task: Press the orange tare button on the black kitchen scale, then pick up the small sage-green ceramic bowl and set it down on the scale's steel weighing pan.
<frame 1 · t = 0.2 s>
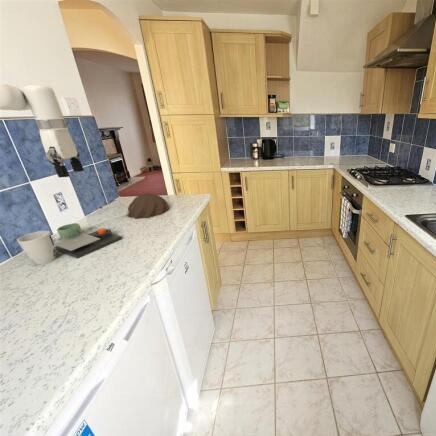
hand: (72, 174, 91), 28 cm above the countertop, tool pointing down, fingers open, 9 cm apart
cup: (46, 260, 88), on the countertop
scale: (90, 244, 98), on the countertop
tare button: (102, 231, 101), point 3 cm above the countertop, slide at 0.1 cm
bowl: (73, 238, 103), on the countertop
pan: (77, 241, 94), on the scale, point 3 cm above the countertop
decorative dome: (149, 211, 130), on the countertop
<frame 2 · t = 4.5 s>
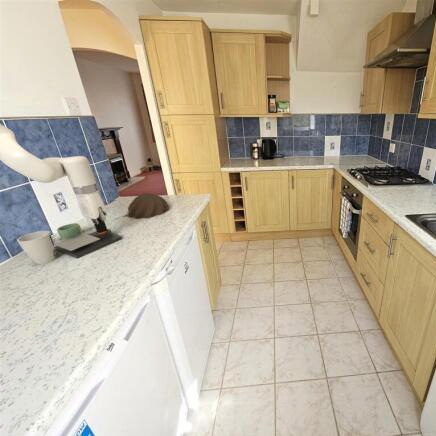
hand: (102, 231, 101), 3 cm above the countertop, tool pointing down, fingers closed
tare button: (102, 233, 102), point 3 cm above the countertop, slide at -0.8 cm, touching gripper
everything else where it was.
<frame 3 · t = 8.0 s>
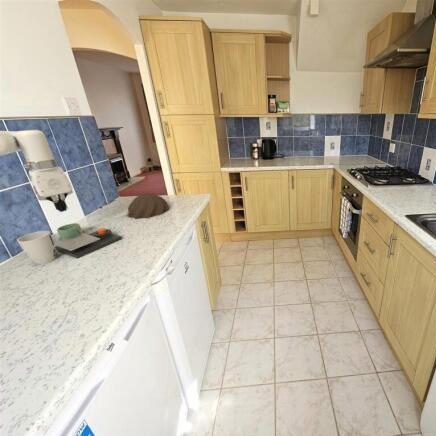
hand: (62, 210, 98), 13 cm above the countertop, tool pointing down, fingers closed
tare button: (102, 231, 101), point 3 cm above the countertop, slide at 0.1 cm
everything else where it was.
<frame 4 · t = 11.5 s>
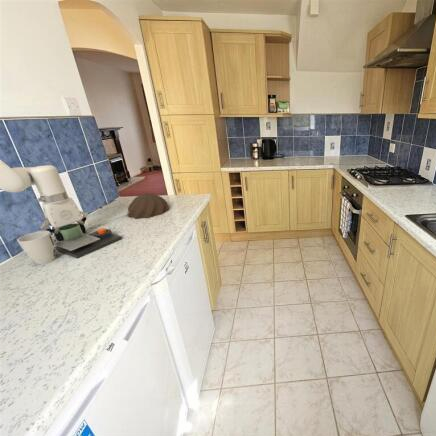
hand: (72, 236, 103), 1 cm above the countertop, tool pointing down, fingers closed on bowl, 7 cm apart
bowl: (73, 238, 103), on the countertop, touching gripper
everything else where it was.
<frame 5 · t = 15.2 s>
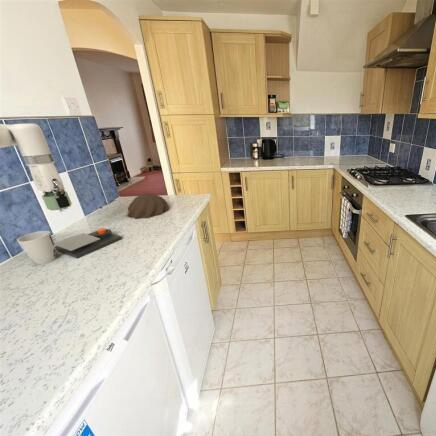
hand: (59, 205, 95), 16 cm above the countertop, tool pointing down, fingers closed on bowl, 7 cm apart
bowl: (60, 207, 95), point 15 cm above the countertop, touching gripper
everything else where it was.
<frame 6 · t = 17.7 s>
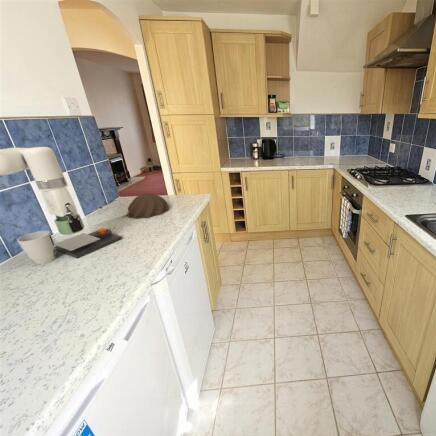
hand: (72, 228, 92), 9 cm above the countertop, tool pointing down, fingers closed on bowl, 7 cm apart
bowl: (73, 230, 92), point 8 cm above the countertop, touching gripper
everything else where it was.
when the fingers open (4 cm above the countertop, at t = 19.4 s): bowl stays where it is, resting on pan.
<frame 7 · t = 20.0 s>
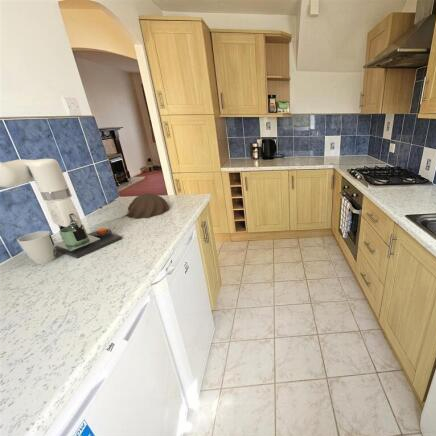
hand: (75, 237, 93), 5 cm above the countertop, tool pointing down, fingers open, 9 cm apart
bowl: (77, 241, 94), point 3 cm above the countertop, touching pan
everything else where it was.
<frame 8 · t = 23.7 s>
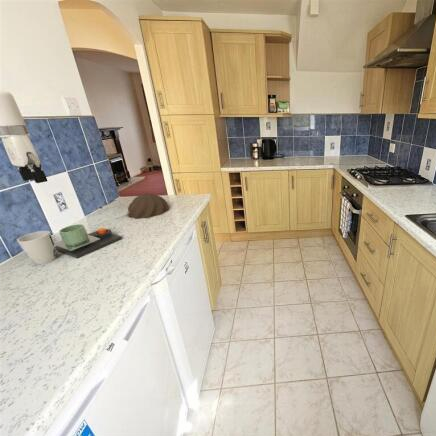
hand: (35, 181, 89), 26 cm above the countertop, tool pointing down, fingers open, 9 cm apart
nothing on the countertop moved.
at the end: tare button pushed in 0.9 cm at the most during the clip, back to where it started at the end; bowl inside the target area on the scale (0.0 cm from its centre), point 3.3 cm above the scale's base; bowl tilted 0° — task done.
